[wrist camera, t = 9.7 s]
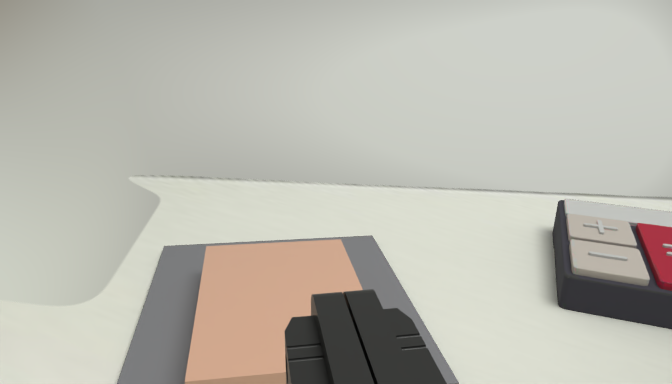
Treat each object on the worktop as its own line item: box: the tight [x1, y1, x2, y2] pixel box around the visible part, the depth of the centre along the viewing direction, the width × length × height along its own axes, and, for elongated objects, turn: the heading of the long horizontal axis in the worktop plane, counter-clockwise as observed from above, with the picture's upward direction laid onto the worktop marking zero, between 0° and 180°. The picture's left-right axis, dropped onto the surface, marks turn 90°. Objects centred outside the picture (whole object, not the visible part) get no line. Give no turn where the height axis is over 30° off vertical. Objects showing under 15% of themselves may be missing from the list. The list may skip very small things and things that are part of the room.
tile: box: [185, 239, 363, 384], centre depth 32 cm, size 2×10×15 cm
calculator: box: [553, 199, 672, 329], centre depth 41 cm, size 11×4×15 cm
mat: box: [117, 236, 459, 384], centre depth 36 cm, size 20×18×1 cm
